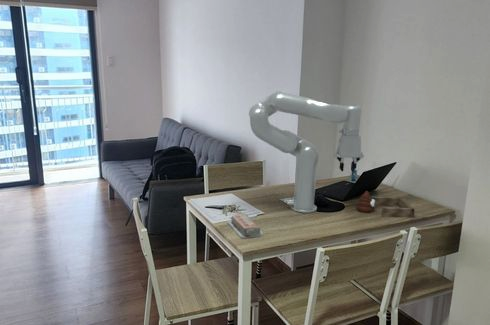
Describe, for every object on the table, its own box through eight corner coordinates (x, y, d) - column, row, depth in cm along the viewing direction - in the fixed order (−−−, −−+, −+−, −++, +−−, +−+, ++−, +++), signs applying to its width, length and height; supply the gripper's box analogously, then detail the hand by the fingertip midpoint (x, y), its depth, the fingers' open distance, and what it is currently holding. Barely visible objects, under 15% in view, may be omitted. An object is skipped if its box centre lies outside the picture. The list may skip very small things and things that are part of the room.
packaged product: (265, 226, 162) (241, 228, 158) (264, 237, 163) (241, 240, 159) (248, 210, 178) (227, 213, 174) (248, 221, 179) (226, 223, 176)
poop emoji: (357, 205, 202) (358, 187, 200) (374, 208, 199) (376, 189, 197) (354, 211, 193) (356, 193, 191) (373, 214, 190) (375, 195, 188)
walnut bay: (382, 216, 188) (383, 208, 187) (371, 204, 205) (372, 196, 204) (413, 217, 188) (414, 209, 187) (400, 205, 205) (401, 197, 204)
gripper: (334, 133, 184) (330, 172, 188) (371, 134, 184) (367, 173, 188) (330, 130, 191) (327, 168, 195) (366, 131, 191) (362, 169, 195)
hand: (347, 170), depth 192 cm, fingers open, 4 cm apart
